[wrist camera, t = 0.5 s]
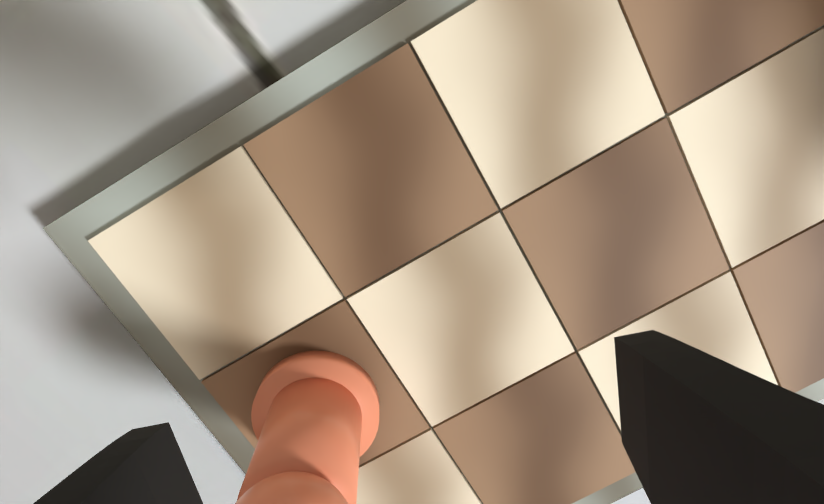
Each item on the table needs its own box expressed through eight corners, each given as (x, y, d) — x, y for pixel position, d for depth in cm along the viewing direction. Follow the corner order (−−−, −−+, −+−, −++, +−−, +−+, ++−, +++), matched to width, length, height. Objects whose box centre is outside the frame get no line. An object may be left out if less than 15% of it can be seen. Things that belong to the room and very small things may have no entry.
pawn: (301, 476, 20) (251, 706, 13) (231, 388, 19) (130, 584, 11) (401, 422, 20) (413, 628, 12) (337, 328, 18) (305, 492, 11)
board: (369, 601, 24) (368, 627, 22) (60, 221, 18) (39, 229, 17) (938, 317, 21) (970, 330, 20) (777, -228, 16) (808, -253, 14)
